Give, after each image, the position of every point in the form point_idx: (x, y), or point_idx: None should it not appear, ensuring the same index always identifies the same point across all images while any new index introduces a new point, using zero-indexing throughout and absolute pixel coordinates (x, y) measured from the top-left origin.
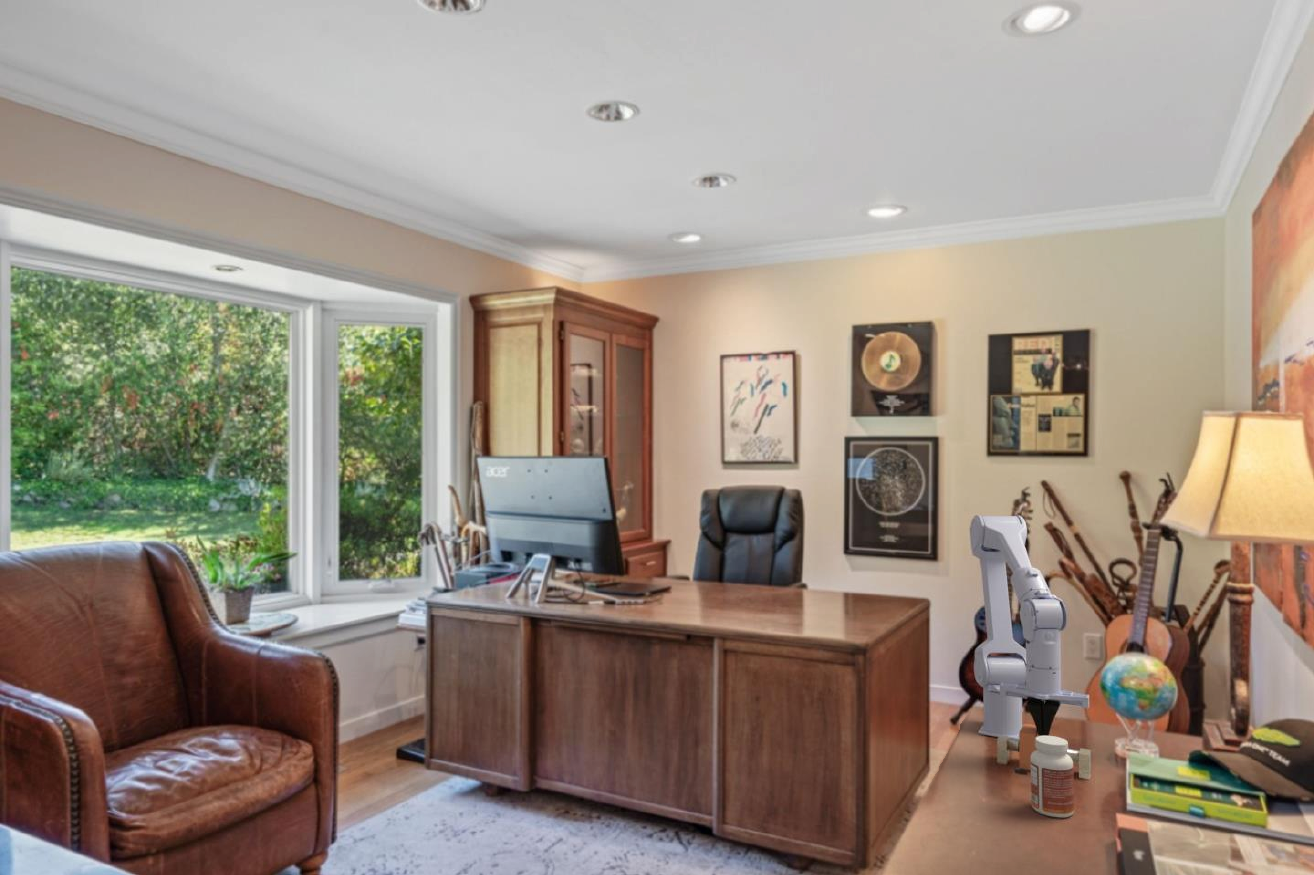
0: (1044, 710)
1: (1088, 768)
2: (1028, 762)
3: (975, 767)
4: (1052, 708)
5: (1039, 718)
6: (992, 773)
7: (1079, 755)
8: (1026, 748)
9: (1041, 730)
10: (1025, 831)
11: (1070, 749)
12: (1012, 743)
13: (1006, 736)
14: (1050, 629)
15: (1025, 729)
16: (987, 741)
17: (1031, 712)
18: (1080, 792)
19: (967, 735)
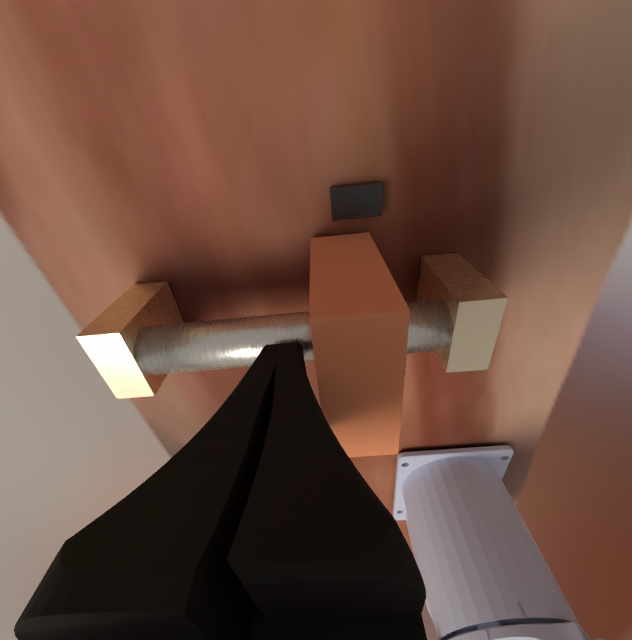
0: (192, 535)
1: (114, 303)
2: (336, 245)
3: (557, 128)
4: (63, 594)
5: (278, 446)
6: (478, 90)
7: (121, 328)
8: (351, 271)
9: (279, 382)
10: None
11: (174, 361)
12: (425, 316)
13: (458, 365)
14: None
15: (379, 383)
16: (486, 414)
17: (347, 480)
18: (73, 102)
19: (542, 425)
